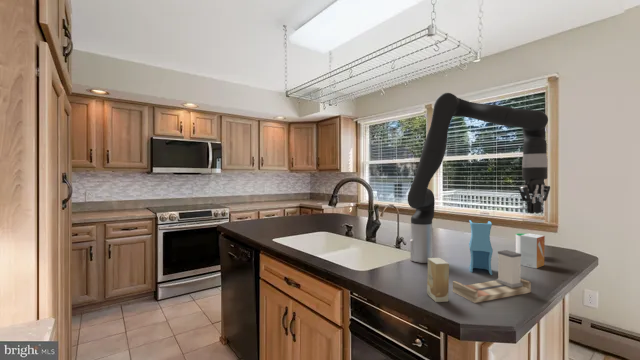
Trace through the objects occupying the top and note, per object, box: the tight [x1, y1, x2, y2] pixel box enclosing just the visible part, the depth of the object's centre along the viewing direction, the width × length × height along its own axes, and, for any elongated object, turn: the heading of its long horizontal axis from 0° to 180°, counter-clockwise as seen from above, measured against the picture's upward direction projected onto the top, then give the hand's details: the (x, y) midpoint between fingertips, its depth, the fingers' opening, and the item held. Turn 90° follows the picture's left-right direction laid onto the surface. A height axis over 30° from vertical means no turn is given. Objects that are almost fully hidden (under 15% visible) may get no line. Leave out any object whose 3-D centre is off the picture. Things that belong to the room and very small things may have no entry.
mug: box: [515, 233, 525, 254], centre depth 138 cm, size 12×8×10 cm
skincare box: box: [426, 257, 450, 303], centre depth 93 cm, size 6×4×12 cm
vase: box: [468, 219, 494, 276], centre depth 118 cm, size 8×8×20 cm
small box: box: [520, 232, 546, 269], centre depth 125 cm, size 8×6×13 cm
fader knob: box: [495, 249, 523, 288], centre depth 100 cm, size 5×6×11 cm
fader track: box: [452, 278, 532, 304], centre depth 97 cm, size 24×9×4 cm, turn 108°
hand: (534, 212), depth 107 cm, fingers open, 3 cm apart
